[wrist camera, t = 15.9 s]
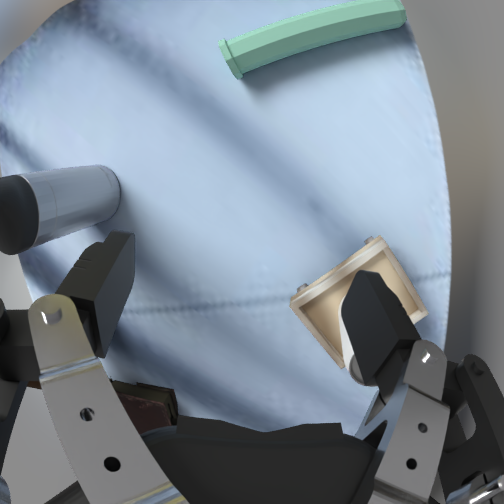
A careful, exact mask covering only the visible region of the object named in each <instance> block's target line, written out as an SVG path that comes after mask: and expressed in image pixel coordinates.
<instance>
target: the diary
mask: <svg viewBox="0 0 504 504" xmlns="http://www.w3.org/2000/svg"><path fill="white" fill-rule="evenodd" d="M110 377H111V376H110ZM109 380H110V382H111V384H112V386H113V388H114V390H115V392H116V394H117V396H118V398H119V400H120V402H121V404H122V405H123V407H124V409H125V411H126V413H127V415H128V416H129V418H130V420H131V422H132V423H133V425H134V427H135V428H136V430H137V432H138V434H139V435H140V434H143V433H145V432H147V431H150V430H153V429H157V428H161V427H167V426H177V419H178V407H177V401H176V397H175V392H174V389H170V388H164V387H158V386H153V385H148V384H143V383H138V382H136V383H137V385H133V384H129V383H124V382H120V381H116V380H115V381H112V379H109Z"/></svg>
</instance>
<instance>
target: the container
mask: <svg viewBox="0 0 504 504" xmlns="http://www.w3.org/2000/svg"><path fill="white" fill-rule="evenodd" d="M406 20H407V17H406V11H405V8H404V7H403V5H402V4H401V2H400V1H399V0H357V1H352V2H347V3H343V4H338V5H334V6H330V7H326V8H322V9H318V10H314V11H311V12H307V13H304V14H300V15H297V16H294V17H290V18H287V19H284V20H281V21H278V22H275V23H272V24H269V25H266V26H264V27H261V28H258V29H256V30H253V31H250V32H248V33H245V34H243V35H240V36H238V37H235V38H233V39H231V40H228V41H226V40H225V39H222V40H220V41H218V43H219V48H220V50H221V52H222V54H223V56H224V58H225V61H226V63H227V64H228V66H229V68H230V70H231V72H232V73H233V75H234V76H235V77H236V79H240V78H242V77H243V73H246V72H248V71H251V70H253V69H256V68H258V67H261V66H263V65H266V64H269V63H271V62H274V61H277V60H280V59H282V58H285V57H288V56H291V55H294V54H297V53H300V52H303V51H306V50H309V49H313V48H316V47H319V46H323V45H326V44H330V43H333V42H337V41H341V40H345V39H349V38H353V37H357V36H361V35H365V34H370V33H374V32H379V31H384V30H390V29H395V28H399V27H400V26H402V25H403V24H404V23H405V21H406Z"/></svg>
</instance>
